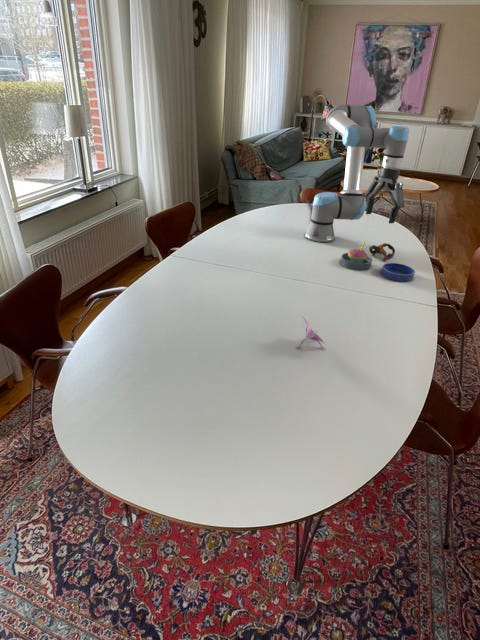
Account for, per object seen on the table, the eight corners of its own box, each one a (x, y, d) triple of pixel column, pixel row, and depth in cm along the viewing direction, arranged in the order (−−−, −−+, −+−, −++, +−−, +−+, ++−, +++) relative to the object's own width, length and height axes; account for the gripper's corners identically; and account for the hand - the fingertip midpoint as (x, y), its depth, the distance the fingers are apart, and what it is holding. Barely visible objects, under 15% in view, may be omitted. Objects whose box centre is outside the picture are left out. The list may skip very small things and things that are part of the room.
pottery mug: (386, 254, 215) (395, 244, 209) (387, 269, 210) (397, 258, 203) (364, 247, 213) (373, 236, 206) (365, 262, 208) (374, 251, 201)
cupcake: (365, 262, 203) (371, 237, 197) (364, 268, 196) (369, 243, 190) (347, 259, 205) (352, 234, 199) (345, 265, 198) (349, 240, 192)
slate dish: (334, 260, 204) (336, 253, 202) (359, 257, 208) (361, 251, 207) (350, 271, 193) (351, 265, 191) (376, 269, 197) (378, 262, 196)
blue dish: (374, 270, 196) (376, 264, 194) (399, 268, 200) (401, 261, 198) (393, 283, 184) (395, 276, 183) (419, 280, 189) (421, 273, 187)
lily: (321, 363, 132) (337, 336, 130) (287, 346, 131) (303, 318, 129) (315, 352, 143) (329, 327, 142) (284, 336, 142) (298, 311, 141)
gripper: (363, 162, 184) (353, 211, 195) (408, 174, 166) (395, 228, 177) (375, 161, 188) (365, 209, 198) (421, 173, 169) (408, 226, 180)
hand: (379, 218), depth 187 cm, fingers open, 13 cm apart
